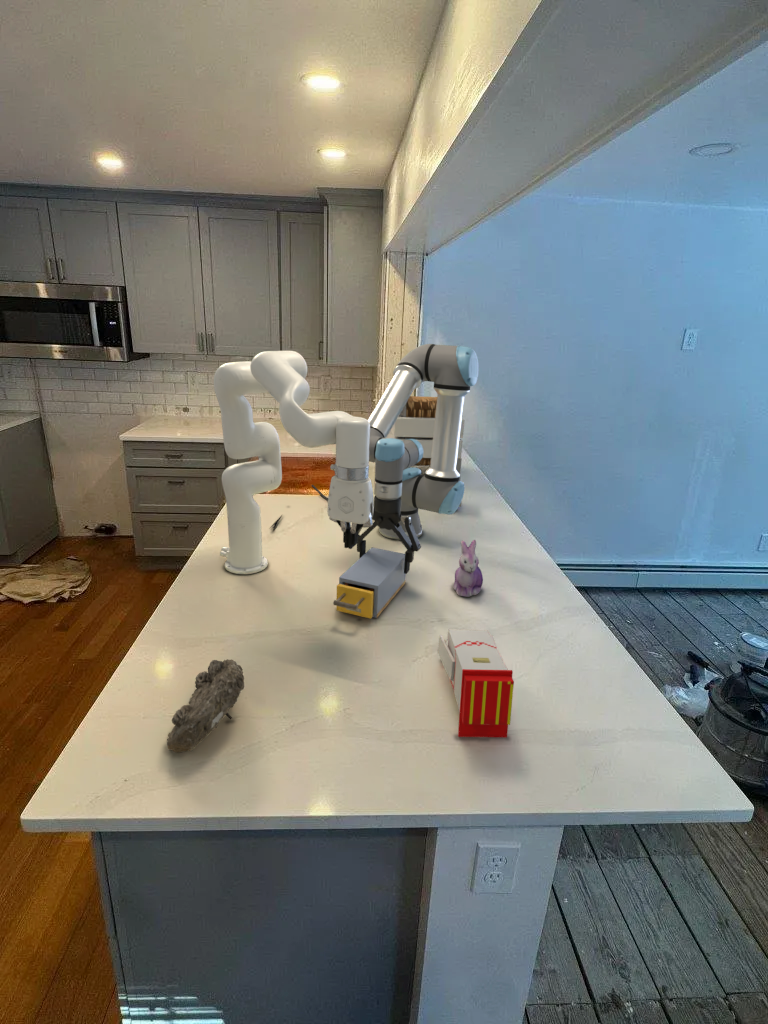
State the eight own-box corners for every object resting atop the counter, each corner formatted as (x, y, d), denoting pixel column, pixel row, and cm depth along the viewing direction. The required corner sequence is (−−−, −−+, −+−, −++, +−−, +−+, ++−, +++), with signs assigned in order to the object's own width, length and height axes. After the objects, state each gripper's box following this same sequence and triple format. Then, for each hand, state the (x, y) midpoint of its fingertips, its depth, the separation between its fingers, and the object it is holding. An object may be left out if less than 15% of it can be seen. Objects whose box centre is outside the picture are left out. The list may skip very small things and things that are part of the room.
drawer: (361, 629, 138) (362, 603, 135) (326, 620, 141) (326, 595, 139) (398, 585, 161) (400, 562, 158) (367, 578, 164) (368, 555, 161)
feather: (289, 509, 222) (291, 505, 221) (271, 533, 195) (274, 529, 195) (285, 506, 222) (288, 503, 221) (267, 531, 195) (270, 526, 195)
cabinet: (376, 618, 145) (378, 586, 142) (338, 608, 149) (339, 577, 146) (405, 583, 164) (407, 554, 161) (370, 575, 168) (371, 547, 165)
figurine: (464, 601, 155) (469, 550, 150) (443, 585, 164) (448, 537, 159) (492, 594, 159) (497, 545, 154) (470, 579, 168) (475, 532, 163)
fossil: (192, 660, 117) (244, 628, 112) (224, 691, 120) (276, 661, 115) (142, 746, 98) (202, 712, 93) (182, 779, 101) (242, 748, 96)
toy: (488, 613, 130) (523, 677, 101) (484, 667, 133) (517, 744, 104) (435, 612, 130) (455, 676, 101) (432, 666, 133) (451, 743, 103)
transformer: (382, 463, 289) (386, 382, 275) (445, 464, 293) (451, 384, 279) (390, 482, 257) (394, 392, 243) (460, 483, 261) (468, 394, 247)
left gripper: (314, 471, 128) (314, 546, 134) (376, 481, 123) (373, 558, 129) (329, 464, 134) (329, 535, 141) (388, 472, 129) (385, 546, 136)
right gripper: (340, 492, 155) (338, 563, 162) (427, 507, 147) (421, 581, 154) (351, 485, 162) (349, 554, 169) (435, 499, 153) (429, 570, 160)
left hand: (350, 546), depth 135 cm, fingers closed
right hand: (384, 567), depth 161 cm, fingers open, 13 cm apart
